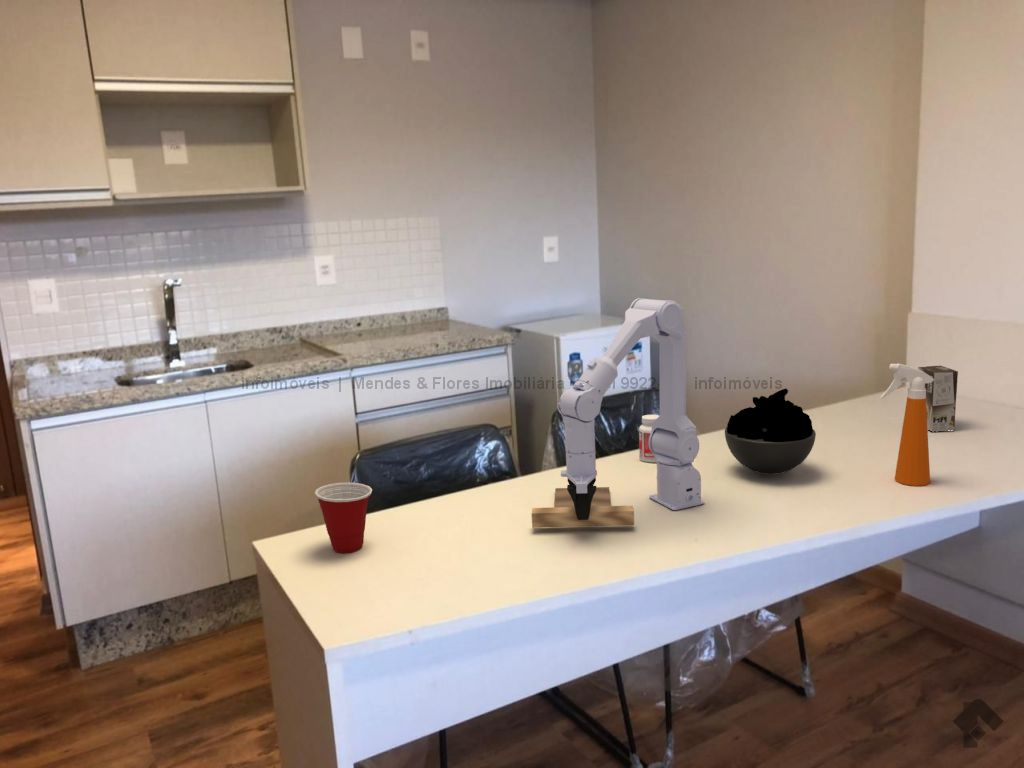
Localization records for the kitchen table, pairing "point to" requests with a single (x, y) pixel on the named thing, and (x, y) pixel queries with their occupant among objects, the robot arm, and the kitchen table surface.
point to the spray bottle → (912, 427)
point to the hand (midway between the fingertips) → (583, 515)
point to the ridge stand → (598, 499)
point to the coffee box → (940, 397)
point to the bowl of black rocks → (770, 435)
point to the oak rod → (596, 518)
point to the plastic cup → (344, 514)
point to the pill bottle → (646, 438)
